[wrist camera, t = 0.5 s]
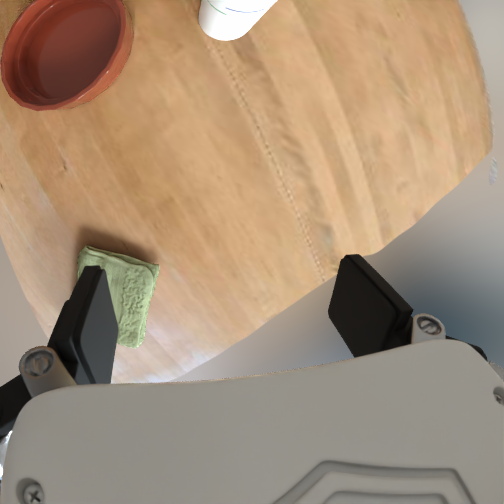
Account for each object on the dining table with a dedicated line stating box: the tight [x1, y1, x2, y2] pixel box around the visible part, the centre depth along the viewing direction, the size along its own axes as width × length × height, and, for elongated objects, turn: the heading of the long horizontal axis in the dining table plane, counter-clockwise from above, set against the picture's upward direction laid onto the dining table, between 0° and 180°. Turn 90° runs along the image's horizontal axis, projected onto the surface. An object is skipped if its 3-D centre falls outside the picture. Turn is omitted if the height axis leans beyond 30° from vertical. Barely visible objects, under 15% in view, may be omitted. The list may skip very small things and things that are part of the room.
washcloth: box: [77, 245, 159, 348], centre depth 43 cm, size 13×18×3 cm
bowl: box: [0, 0, 134, 111], centre depth 24 cm, size 17×17×6 cm
